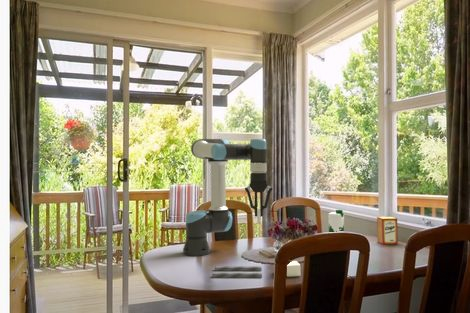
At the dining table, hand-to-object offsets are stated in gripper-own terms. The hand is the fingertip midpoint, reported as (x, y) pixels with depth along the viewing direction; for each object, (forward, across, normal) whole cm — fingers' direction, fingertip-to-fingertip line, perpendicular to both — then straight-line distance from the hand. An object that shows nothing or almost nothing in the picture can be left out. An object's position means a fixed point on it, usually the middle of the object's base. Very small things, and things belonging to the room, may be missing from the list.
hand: (258, 223), depth 165 cm
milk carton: (+23, +50, +66) cm, 86 cm away
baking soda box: (+23, +80, +61) cm, 103 cm away
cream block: (+23, +13, -2) cm, 26 cm away
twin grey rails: (+22, -10, -2) cm, 25 cm away
